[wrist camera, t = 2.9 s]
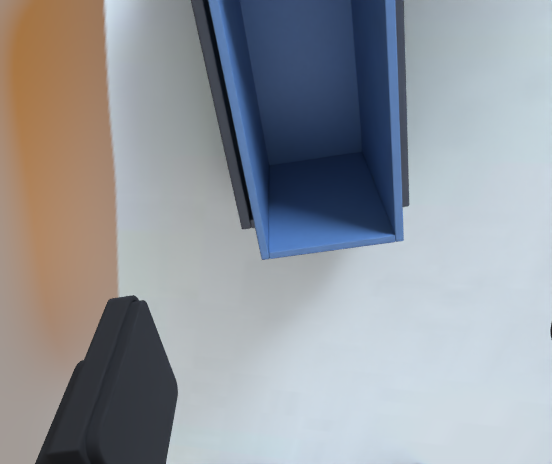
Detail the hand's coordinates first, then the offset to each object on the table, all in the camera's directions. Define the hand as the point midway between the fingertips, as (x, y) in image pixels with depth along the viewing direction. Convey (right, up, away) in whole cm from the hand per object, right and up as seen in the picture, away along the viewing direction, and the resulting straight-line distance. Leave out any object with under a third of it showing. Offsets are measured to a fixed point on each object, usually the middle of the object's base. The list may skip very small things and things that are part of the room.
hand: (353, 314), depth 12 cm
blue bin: (0, +13, +19) cm, 23 cm away
